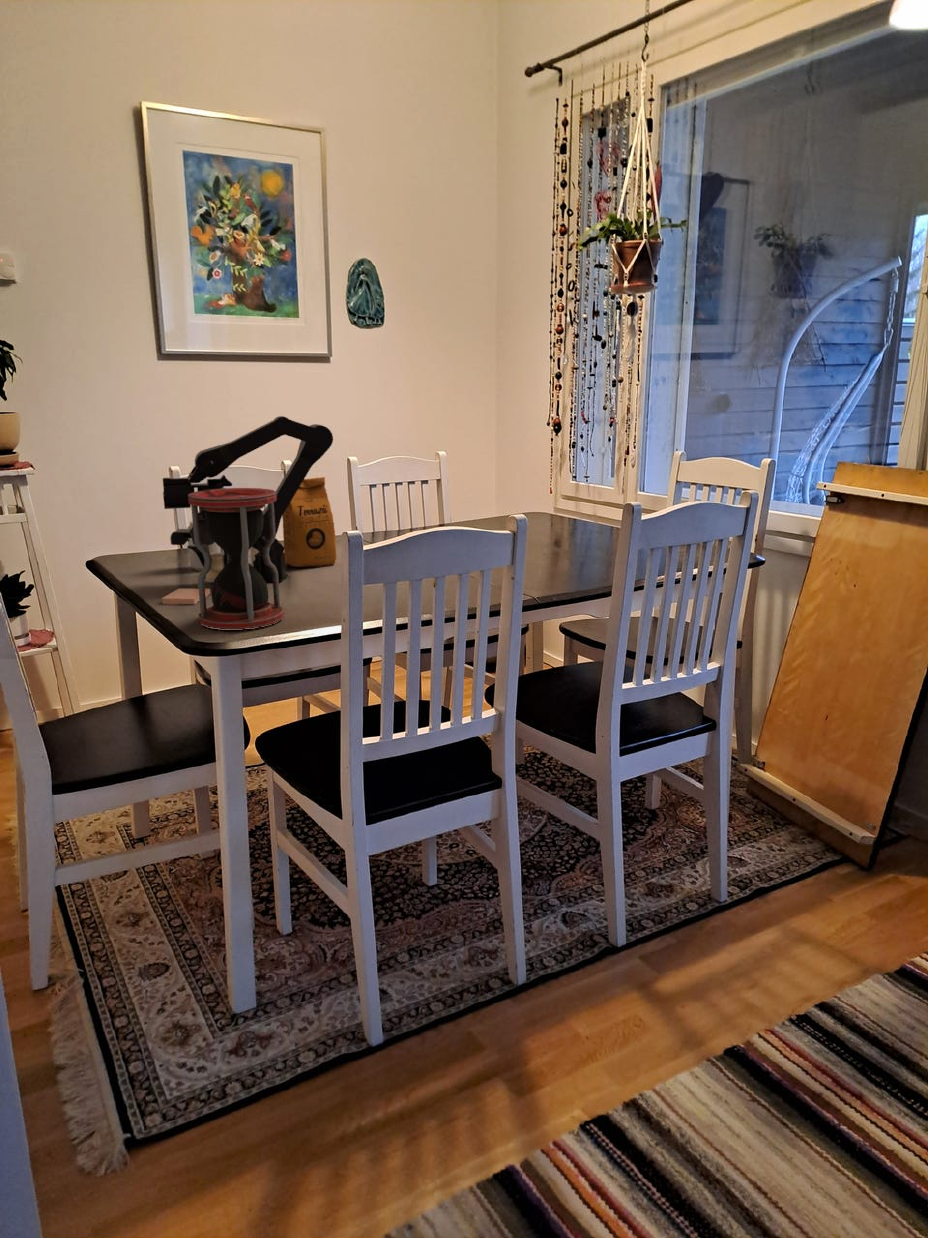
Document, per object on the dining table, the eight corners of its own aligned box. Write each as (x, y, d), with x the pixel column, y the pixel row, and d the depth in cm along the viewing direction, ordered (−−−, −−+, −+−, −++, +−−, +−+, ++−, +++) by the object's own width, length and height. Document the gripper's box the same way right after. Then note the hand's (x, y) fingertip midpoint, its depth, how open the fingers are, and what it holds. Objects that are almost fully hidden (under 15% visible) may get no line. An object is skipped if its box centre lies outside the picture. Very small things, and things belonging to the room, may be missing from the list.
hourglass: (270, 605, 178) (263, 485, 171) (294, 624, 164) (286, 494, 158) (191, 615, 171) (180, 490, 164) (209, 636, 157) (197, 500, 150)
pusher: (229, 578, 199) (227, 552, 197) (223, 582, 195) (221, 556, 193) (213, 577, 199) (211, 552, 198) (206, 581, 195) (204, 556, 194)
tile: (209, 588, 187) (194, 598, 179) (210, 596, 188) (194, 606, 179) (178, 588, 188) (161, 598, 179) (179, 595, 188) (162, 606, 180)
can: (184, 569, 212) (179, 521, 209) (206, 564, 218) (202, 517, 215) (207, 572, 209) (202, 523, 205) (228, 566, 215) (224, 519, 212)
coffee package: (340, 566, 215) (336, 478, 209) (292, 571, 210) (286, 481, 204) (328, 559, 224) (324, 474, 218) (281, 563, 219) (276, 477, 213)
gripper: (156, 511, 186) (163, 581, 190) (240, 512, 184) (245, 583, 188) (177, 504, 196) (183, 570, 201) (256, 505, 195) (261, 572, 199)
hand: (217, 574), depth 197 cm, fingers open, 4 cm apart
